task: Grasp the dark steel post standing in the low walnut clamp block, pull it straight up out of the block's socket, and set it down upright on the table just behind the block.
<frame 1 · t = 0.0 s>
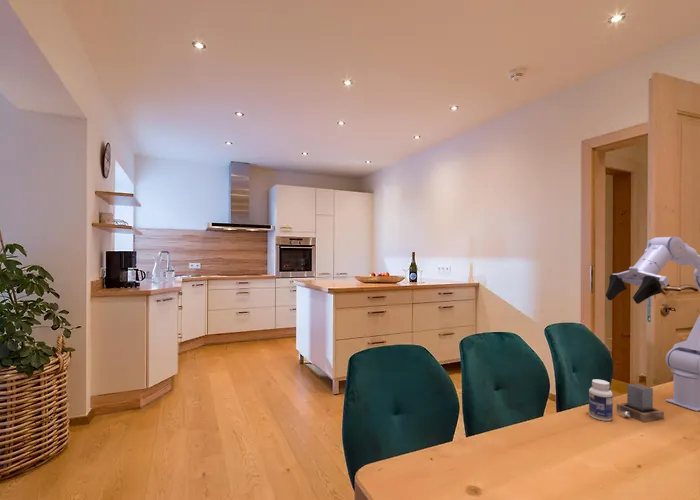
hand: (621, 299, 103), 32 cm above the table, tool tilted 50°, fingers open, 7 cm apart
walnut clamp block: (639, 415, 103), on the table
pill bottle: (600, 417, 101), on the table
steel post: (639, 400, 103), in the walnut clamp block
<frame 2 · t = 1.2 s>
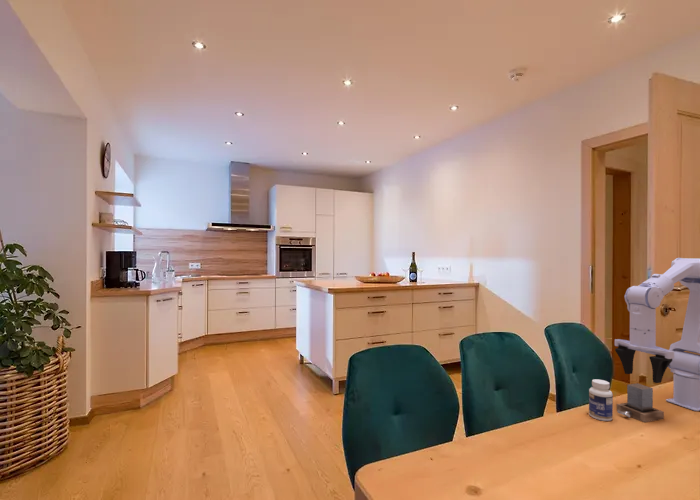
hand: (642, 377, 103), 10 cm above the table, tool pointing down, fingers open, 7 cm apart
nothing on the table moved.
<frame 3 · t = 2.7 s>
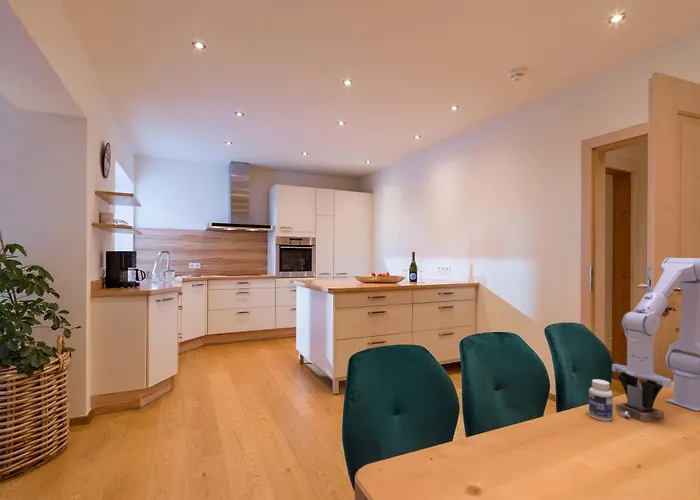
hand: (639, 404, 103), 3 cm above the table, tool pointing down, fingers closed on steel post, 4 cm apart
steel post: (639, 400, 103), in the walnut clamp block, touching gripper
everything else where it was.
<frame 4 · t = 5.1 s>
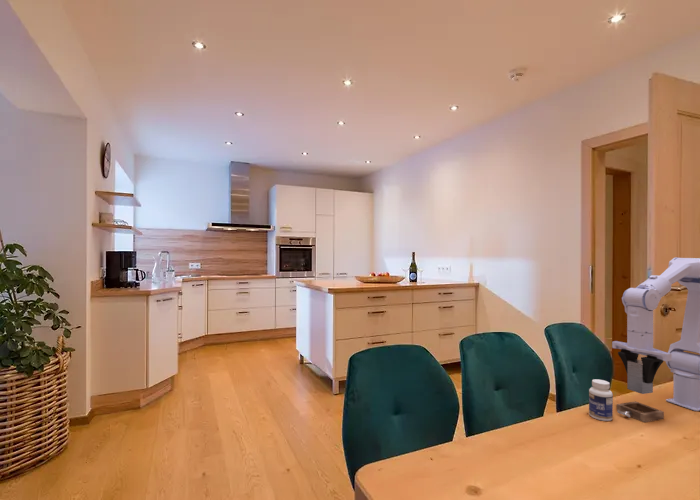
hand: (639, 380, 103), 10 cm above the table, tool pointing down, fingers closed on steel post, 4 cm apart
steel post: (640, 376, 103), point 11 cm above the table, touching gripper
everything else where it was.
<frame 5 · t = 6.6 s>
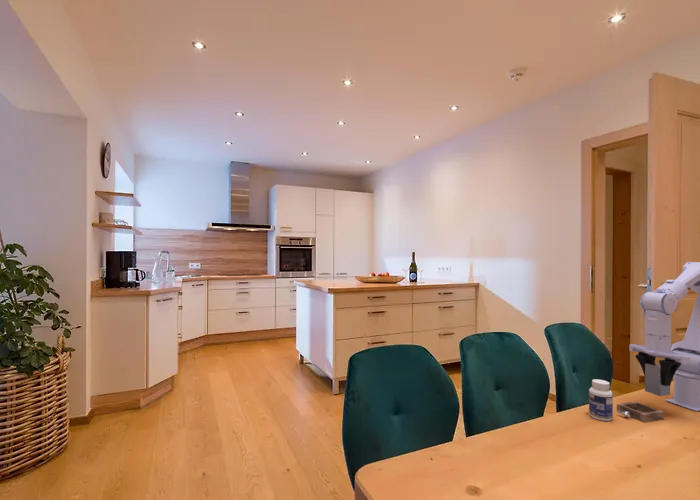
hand: (657, 382, 105), 8 cm above the table, tool pointing down, fingers closed on steel post, 4 cm apart
steel post: (657, 378, 105), point 9 cm above the table, touching gripper
everything else where it was.
when the fingers open (4 cm above the table, at t = 7.8 s): steel post drops 2 cm, on the table.
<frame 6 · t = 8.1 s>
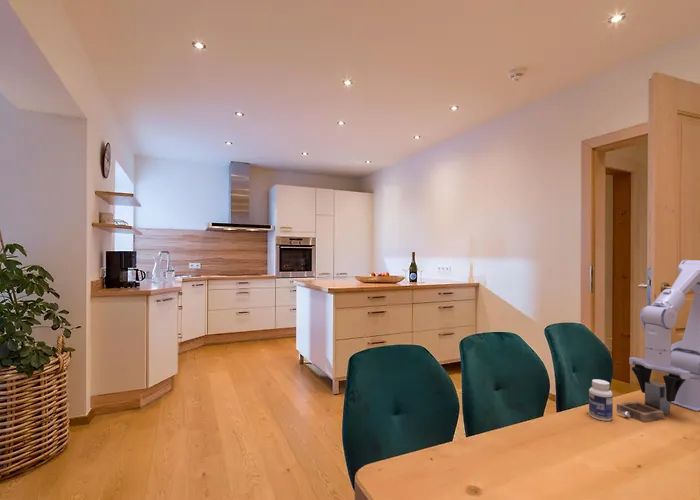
hand: (657, 396, 105), 4 cm above the table, tool pointing down, fingers open, 6 cm apart
steel post: (657, 398, 105), on the table
everything else where it was.
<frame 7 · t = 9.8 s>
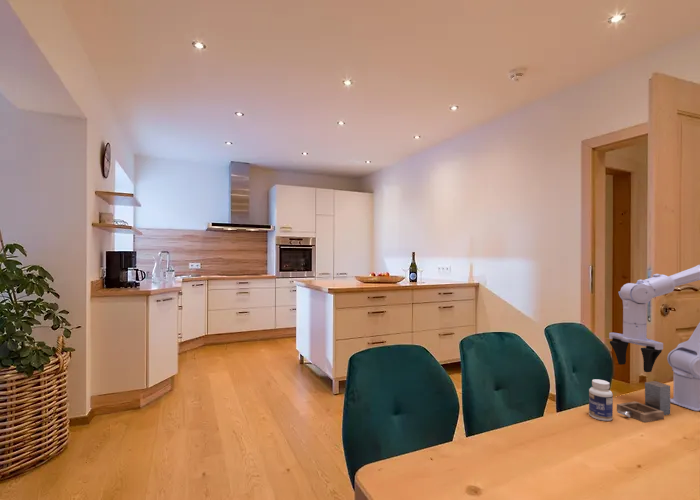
hand: (634, 367, 112), 10 cm above the table, tool pointing down, fingers open, 7 cm apart
nothing on the table moved.
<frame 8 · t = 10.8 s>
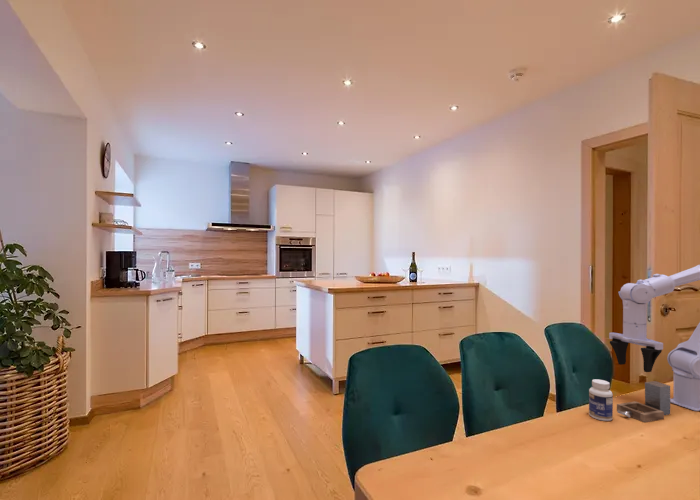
hand: (634, 367, 112), 10 cm above the table, tool pointing down, fingers open, 7 cm apart
nothing on the table moved.
at the end: steel post 0.0 cm from the target spot, on the table; steel post tilted 0°; the gripper is holding nothing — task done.
